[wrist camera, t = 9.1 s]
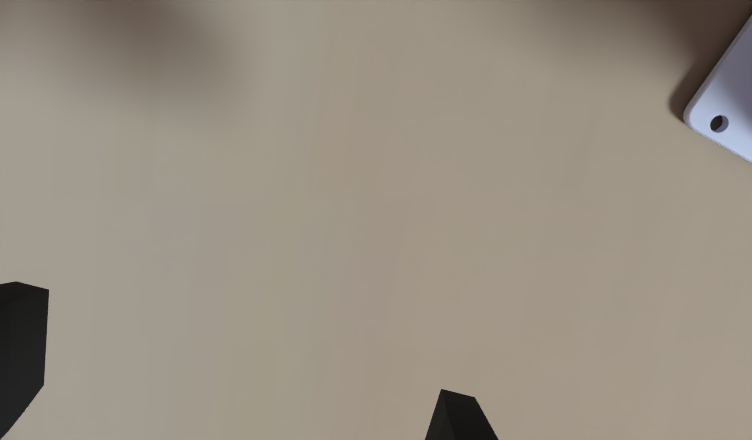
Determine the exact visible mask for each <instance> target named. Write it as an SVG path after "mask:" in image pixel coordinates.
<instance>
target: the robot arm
mask: <svg viewBox="0 0 752 440" xmlns="http://www.w3.org/2000/svg"><path fill="white" fill-rule="evenodd" d="M719 115H721V116H722V119H723V122H722V125H721V126H720V127H719V128H718V129H716V130H713V131H712V130H711V128H710V123H711V121H712V119H713V118H714V117H716V116H719ZM683 119H684V122H685V124H686V125H687V126H688V127H689V128H690V129H692V130H693V131H695V132H697V133H699V134H700V135H702V136H704V137H706V138H708V139H709V140H711V141H713V142H715V143H716V144H718V145H720V146H722V147H723V148H725V149H727V150H729V151H730V152H732V153H734V154H736V155H737V156H739V157H741V158H743V159H744V160H746V161H748V162H750V163H752V15H751V16H750V18H749V19H748V21H747V22H746V24H745V25H744V26H743V28H742V29H741V31H740V32H739V33H738V35H737V36H736V38H735V39H734V40H733V42H732V43H731V45H730V46H729V47H728V49H727V50H726V52H725V53H724V54H723V56H722V57H721V59H720V60H719V61H718V63H717V64H716V66H715V67H714V68H713V70H712V71H711V73H710V74H709V75H708V77H707V78H706V80H705V81H704V82H703V84H702V85H701V87H700V88H699V90H698V91H697V92H696V94H695V95H694V97H693V98H692V99H691V101H690V102H689V104H688V105H687V106H686V109H685V111H684V115H683ZM48 299H49V290H48V289H44V288H40V287H36V286H32V285H28V284H24V283H20V282H10V283H5V284H0V439H1V438H2V437H3V436H4V435H5V434H6V433H7V432H8V431H9V430H10V428H11V427H12V426H13V425H14V423H15V422H16V421H17V420H18V418H19V417H20V416H21V415H22V413H23V412H24V411H25V409H26V408H27V407H28V405H29V404H30V403H31V401H32V400H33V399H34V397H35V396H36V395H37V393H38V392H39V391H40V389H41V388H42V387H43V385H44V371H45V353H46V335H47V317H48ZM425 440H498V438H497V436H496V434H495V433H494V431H493V429H492V427H491V425H490V424H489V422H488V420H487V418H486V416H485V415H484V413H483V411H482V409H481V408H480V406H479V404H478V402H477V401H476V399H475V397H471V396H467V395H463V394H459V393H455V392H451V391H447V390H443V389H441V391H440V394H439V397H438V401H437V404H436V407H435V410H434V413H433V416H432V419H431V422H430V426H429V429H428V432H427V435H426V438H425Z"/></svg>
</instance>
